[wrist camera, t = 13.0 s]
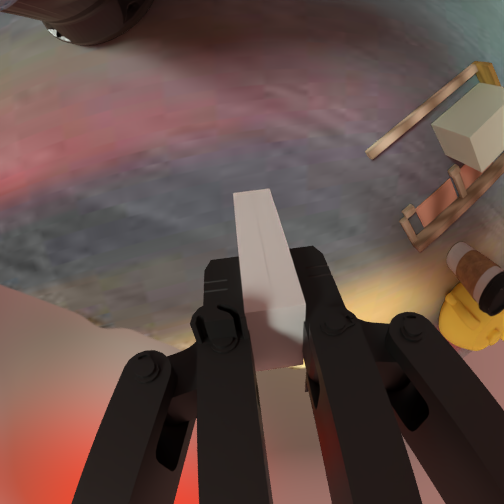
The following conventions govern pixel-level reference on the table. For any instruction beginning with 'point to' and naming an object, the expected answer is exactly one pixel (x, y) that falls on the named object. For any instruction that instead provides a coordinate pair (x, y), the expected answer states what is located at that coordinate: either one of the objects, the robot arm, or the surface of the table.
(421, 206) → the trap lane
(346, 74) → the table surface
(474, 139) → the brick
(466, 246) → the coffee cup
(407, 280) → the table surface
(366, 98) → the table surface
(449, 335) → the teapot
